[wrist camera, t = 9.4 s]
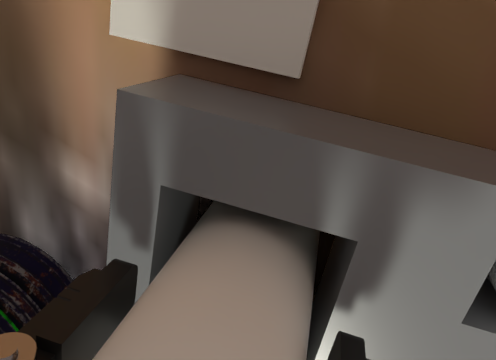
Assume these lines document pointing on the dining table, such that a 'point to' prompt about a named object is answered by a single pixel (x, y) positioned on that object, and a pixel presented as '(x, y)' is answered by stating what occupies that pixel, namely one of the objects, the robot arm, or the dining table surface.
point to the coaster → (223, 29)
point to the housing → (319, 209)
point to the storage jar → (26, 282)
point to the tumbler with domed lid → (226, 294)
